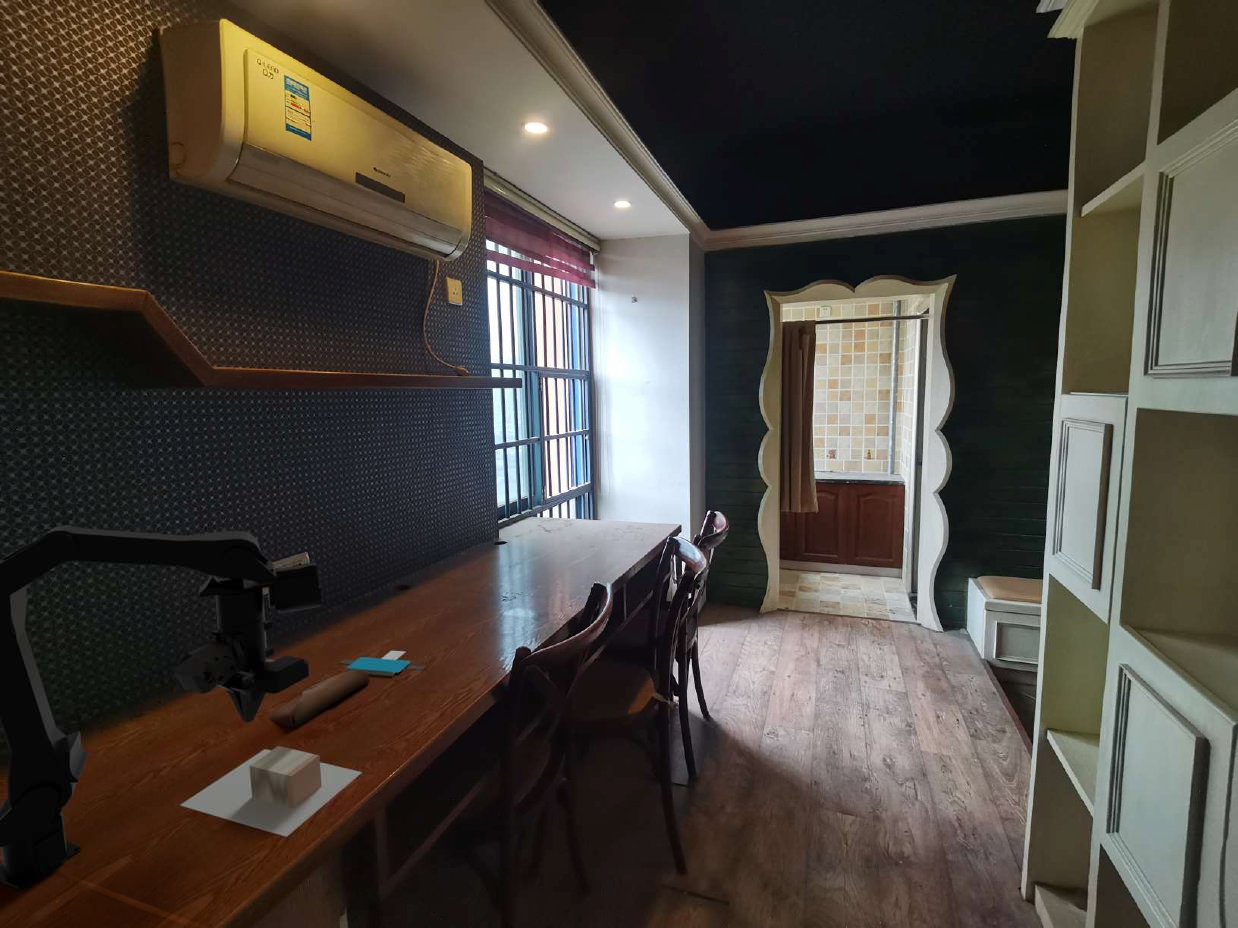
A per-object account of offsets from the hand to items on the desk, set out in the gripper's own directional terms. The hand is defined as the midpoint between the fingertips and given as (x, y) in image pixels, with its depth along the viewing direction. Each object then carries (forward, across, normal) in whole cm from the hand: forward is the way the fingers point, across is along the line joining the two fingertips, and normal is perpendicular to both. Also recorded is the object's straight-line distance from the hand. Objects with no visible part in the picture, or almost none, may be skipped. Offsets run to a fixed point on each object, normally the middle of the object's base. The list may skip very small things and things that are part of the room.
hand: (248, 721), depth 86 cm
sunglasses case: (+12, -12, +24) cm, 29 cm away
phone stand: (+12, -11, +41) cm, 44 cm away
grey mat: (+12, +2, +2) cm, 12 cm away
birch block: (+9, +1, +2) cm, 9 cm away
